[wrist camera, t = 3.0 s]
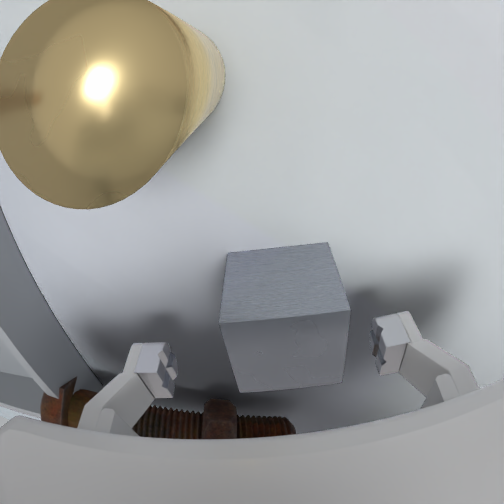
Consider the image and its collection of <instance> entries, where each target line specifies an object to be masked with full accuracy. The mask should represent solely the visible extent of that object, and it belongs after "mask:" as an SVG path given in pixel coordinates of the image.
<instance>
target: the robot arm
mask: <svg viewBox="0 0 504 504" xmlns="http://www.w3.org/2000/svg"><path fill="white" fill-rule="evenodd" d="M371 326H372V328H373V330H372V331H371V332H370V337H369V340H370V348H371V352H372V355H374V356H375V357H376V362H375V364H376V367H377V370H378V373H379V376H382V375H387V374H392V373H397V372H399V374H400V375H402V376H403V377H404V378H405V379H406V380H407V381H408V382H409V383H411V384H412V385H413V386H414V387H415V388H416V389H417V390H418V391H420V392H421V393H422V394H423V395H424V396H425V397H426V399H425V401H424V403H423V405H422V407H421V409H418V410H415V411H411V412H408V413H404V414H400V415H397V416H393V417H389V418H384V419H380V420H376V421H371V422H367V423H362V424H357V425H352V426H347V427H341V428H335V429H329V430H323V431H316V432H309V433H301V434H293V435H283V436H273V437H260V438H243V439H167V438H151V437H139V435H138V434H137V433H136V432H135V431H134V430H133V429H132V427H133V426H134V425H135V424H136V422H137V421H138V420H139V419H140V417H141V416H142V415H143V414H144V412H145V411H146V410H147V408H148V407H149V406H150V405H151V403H152V402H153V401H154V400H155V399H154V398H173V395H174V390H175V383H174V382H173V380H174V379H175V378H176V377H177V373H178V363H177V359H176V357H175V355H174V354H172V353H171V352H170V350H171V347H170V345H169V344H168V343H167V342H158V343H134V344H133V345H132V346H131V348H130V351H129V354H128V357H127V360H126V364H125V367H124V370H123V373H119V374H118V375H117V376H116V377H115V378H114V379H113V380H112V381H110V382H109V383H108V384H107V385H106V386H105V387H104V388H103V389H102V390H101V391H100V392H99V393H97V394H96V395H95V396H94V397H93V398H92V399H91V400H90V401H89V402H88V403H87V404H86V405H85V406H84V409H83V412H82V415H81V418H80V421H79V424H78V427H77V428H73V427H67V426H62V425H58V424H53V423H48V422H44V421H40V420H36V419H32V418H28V417H24V416H15V417H14V418H12V419H11V420H9V421H8V422H7V423H6V424H4V425H3V426H2V427H1V428H0V504H504V379H501V380H499V381H497V382H494V383H492V384H490V385H487V386H485V387H482V388H480V389H479V387H478V385H477V382H476V380H475V378H474V376H473V374H472V372H471V370H470V368H469V366H468V365H467V364H465V363H464V362H462V361H461V360H459V359H457V358H456V357H454V356H453V355H451V354H450V353H448V352H446V351H445V350H443V349H442V348H440V347H439V346H437V345H435V344H434V343H432V342H431V341H429V340H428V339H423V338H422V336H421V334H420V332H419V330H418V328H417V326H416V324H415V322H414V320H413V318H412V316H411V314H410V312H409V311H404V312H399V313H394V314H389V315H384V316H379V317H374V318H373V319H372V322H371Z"/></svg>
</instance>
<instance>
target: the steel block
mask: <svg viewBox="0 0 504 504" xmlns="http://www.w3.org/2000/svg"><path fill="white" fill-rule="evenodd" d="M350 313H351V309H350V306H349V303H348V299H347V296H346V293H345V290H344V287H343V284H342V281H341V278H340V275H339V273H338V270H337V267H336V264H335V261H334V258H333V255H332V253H331V250H330V247H329V244H328V242H326V243H317V244H307V245H298V246H288V247H279V248H269V249H260V250H250V251H241V252H231V253H228V256H227V263H226V270H225V278H224V286H223V293H222V301H221V309H220V317H219V326H220V330H221V333H222V336H223V340H224V343H225V346H226V350H227V353H228V356H229V360H230V363H231V366H232V369H233V373H234V376H235V379H236V382H237V385H238V389H239V392H240V393H242V392H260V391H273V390H285V389H295V388H305V387H313V386H321V385H329V384H336V383H342V379H343V372H344V365H345V357H346V349H347V341H348V332H349V323H350Z"/></svg>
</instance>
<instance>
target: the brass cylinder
mask: <svg viewBox="0 0 504 504" xmlns="http://www.w3.org/2000/svg"><path fill="white" fill-rule="evenodd" d="M224 84H225V67H224V63H223V59H222V57H221V54H220V52H219V50H218V49H217V47H216V46H215V44H214V43H213V42H212V41H211V40H210V39H209V38H208V37H207V36H206V35H205V34H203V33H202V32H200V31H199V30H197V29H196V28H194V27H192V26H191V25H189V24H188V23H186V22H184V21H183V20H181V19H179V18H178V17H176V16H174V15H173V14H171V13H169V12H168V11H166V10H164V9H162V8H161V7H159V6H157V5H155V4H153V3H152V2H150V1H148V0H49V1H47V2H46V3H44V4H43V5H41V6H40V7H39V8H38V9H36V10H35V11H34V12H33V13H32V14H31V15H30V16H29V17H28V18H27V19H26V20H25V21H24V22H23V23H22V24H21V25H20V27H19V28H18V29H17V31H16V32H15V33H14V34H13V36H12V38H11V39H10V41H9V43H8V44H7V46H6V48H5V50H4V52H3V55H2V57H1V59H0V150H1V152H2V154H3V157H4V159H5V160H6V162H7V164H8V166H9V167H10V169H11V170H12V171H13V173H14V174H15V175H16V177H17V178H18V179H19V180H20V181H21V182H22V183H23V184H24V185H25V186H26V187H27V188H28V189H30V190H31V191H32V192H33V193H35V194H36V195H38V196H39V197H41V198H43V199H44V200H47V201H49V202H51V203H53V204H56V205H59V206H62V207H67V208H73V209H94V208H101V207H104V206H108V205H112V204H114V203H116V202H119V201H121V200H123V199H125V198H127V197H128V196H130V195H132V194H133V193H135V192H136V191H137V190H139V189H140V188H141V187H142V186H144V185H145V184H146V183H147V182H148V181H149V180H150V179H151V178H152V177H153V176H154V175H155V174H156V173H157V171H158V170H159V169H160V168H161V167H162V166H163V165H164V163H165V162H166V161H167V160H168V159H169V158H170V157H171V155H172V154H173V153H174V152H175V151H176V150H177V149H178V148H179V147H180V146H181V144H182V143H183V142H184V141H185V140H186V139H187V138H188V137H189V136H190V135H191V134H192V133H193V132H194V131H195V130H196V128H197V127H198V126H199V125H200V124H201V123H202V122H203V121H204V120H205V119H206V118H207V117H208V116H209V115H210V114H211V113H212V111H213V110H214V109H215V107H216V106H217V104H218V102H219V100H220V98H221V95H222V92H223V89H224Z"/></svg>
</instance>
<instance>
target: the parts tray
mask: <svg viewBox="0 0 504 504" xmlns="http://www.w3.org/2000/svg"><path fill="white" fill-rule="evenodd" d="M75 377H77V380H76V384H75V388H74V392H73V394H74V393H75V392H76V391H78V390H80V389H86V390H90V391H94V392H98V393H99V392H100V391H101V390H102V389H103V385H102V384H101V383H100V381H99V380H98V379H97V377H96V376H95V375H94V374H93V372H92V371H91V369H90V368H89V367H88V365H87V364H86V363H85V361H84V360H83V358H82V357H81V356H80V354H79V353H78V351H77V350H76V348H75V347H74V346H73V344H72V343H71V341H70V340H69V338H68V337H67V335H66V333H65V332H64V330H63V329H62V327H61V326H60V324H59V323H58V321H57V319H56V318H55V316H54V314H53V313H52V311H51V309H50V308H49V306H48V304H47V303H46V301H45V299H44V297H43V296H42V294H41V292H40V290H39V288H38V287H37V285H36V283H35V281H34V279H33V277H32V275H31V274H30V272H29V270H28V268H27V266H26V264H25V262H24V260H23V258H22V256H21V254H20V251H19V249H18V247H17V245H16V243H15V241H14V239H13V236H12V234H11V232H10V229H9V227H8V225H7V222H6V220H5V218H4V215H3V213H2V210H1V208H0V406H1V407H4V408H7V409H10V410H14V411H17V412H20V413H23V414H27V415H30V416H34V417H37V418H41V414H40V405H41V399H42V396H43V393H44V392H45V393H46V394H47V395H49V396H52V397H55V398H57V399H59V388H60V387H61V386H63V385H64V384H66V383H67V382H69V381H70V380H72V379H73V378H75Z"/></svg>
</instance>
